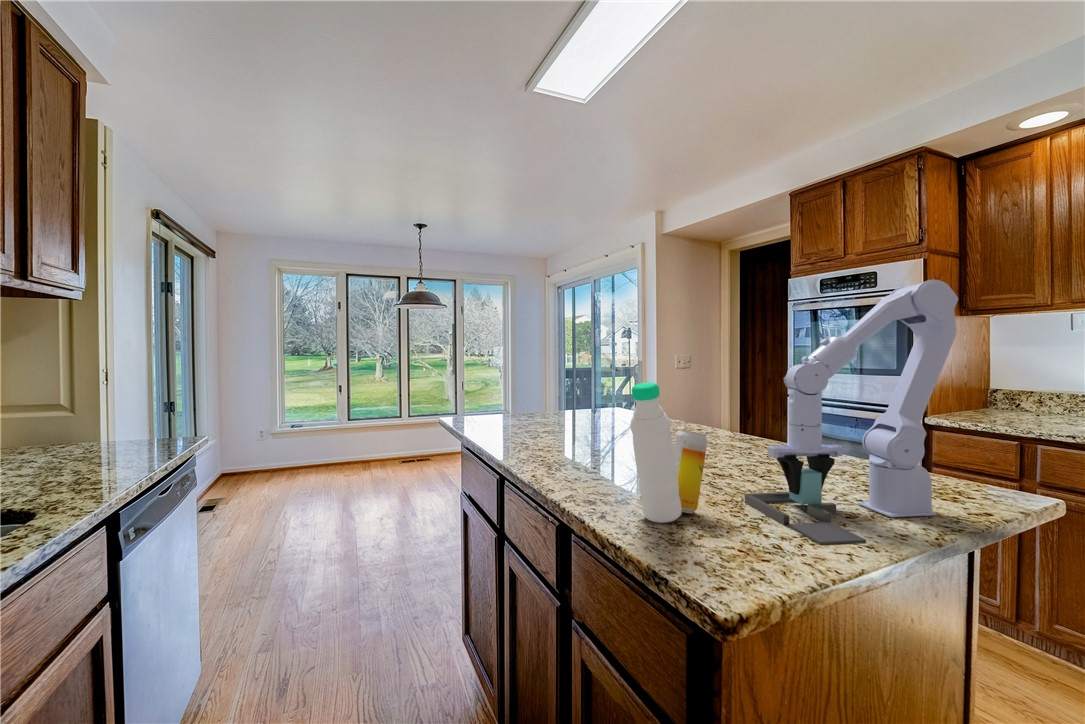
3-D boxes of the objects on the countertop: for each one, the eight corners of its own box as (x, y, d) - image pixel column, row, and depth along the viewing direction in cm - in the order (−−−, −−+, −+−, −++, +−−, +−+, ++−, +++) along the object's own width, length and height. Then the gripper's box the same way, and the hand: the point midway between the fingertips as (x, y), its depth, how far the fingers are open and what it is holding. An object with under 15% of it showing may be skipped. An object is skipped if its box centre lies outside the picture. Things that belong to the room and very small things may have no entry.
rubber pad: (830, 524, 82) (830, 522, 82) (866, 542, 74) (866, 539, 74) (787, 526, 81) (788, 524, 81) (819, 544, 73) (819, 542, 73)
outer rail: (804, 500, 96) (804, 491, 96) (854, 523, 83) (854, 512, 83) (743, 503, 95) (743, 493, 95) (783, 527, 82) (783, 515, 82)
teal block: (807, 497, 94) (807, 468, 94) (821, 503, 90) (821, 472, 90) (789, 498, 93) (789, 468, 93) (802, 504, 89) (802, 473, 89)
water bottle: (667, 501, 90) (650, 377, 86) (690, 516, 83) (673, 383, 79) (636, 512, 88) (617, 386, 83) (657, 529, 81) (637, 392, 77)
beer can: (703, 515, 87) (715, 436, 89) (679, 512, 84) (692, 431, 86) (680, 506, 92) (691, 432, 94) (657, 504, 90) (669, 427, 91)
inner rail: (832, 513, 88) (832, 502, 88) (854, 523, 83) (854, 512, 83) (805, 514, 88) (805, 503, 88) (826, 524, 82) (826, 513, 82)
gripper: (824, 421, 96) (824, 485, 96) (759, 422, 95) (759, 488, 95) (850, 426, 89) (850, 495, 89) (780, 427, 88) (780, 498, 88)
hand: (805, 492), depth 92 cm, fingers closed on teal block, 4 cm apart
